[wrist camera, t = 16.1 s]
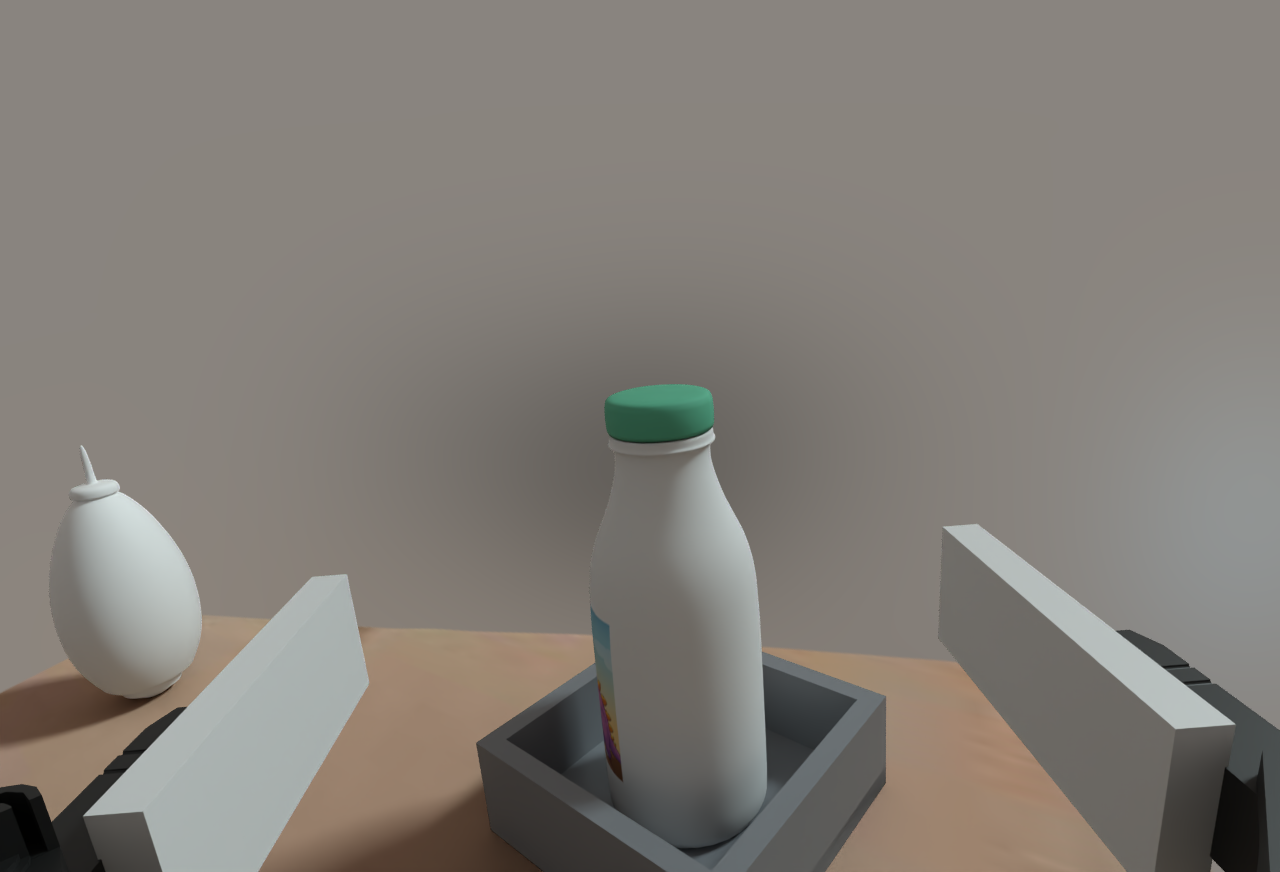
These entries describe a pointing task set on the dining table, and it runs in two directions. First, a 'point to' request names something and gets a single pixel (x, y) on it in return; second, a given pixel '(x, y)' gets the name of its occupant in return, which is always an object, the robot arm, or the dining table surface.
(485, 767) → the box
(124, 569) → the white squeeze bottle
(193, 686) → the dining table surface
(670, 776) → the milk bottle
